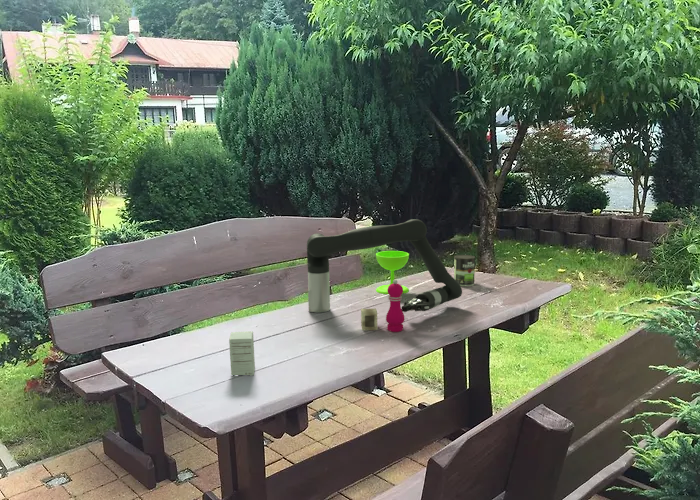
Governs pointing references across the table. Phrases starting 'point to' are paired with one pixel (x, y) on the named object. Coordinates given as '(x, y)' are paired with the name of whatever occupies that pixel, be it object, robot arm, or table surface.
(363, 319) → the pale yellow cube-like block
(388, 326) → the pepper mill
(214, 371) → the table surface
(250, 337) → the supplement box
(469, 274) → the coffee can
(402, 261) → the wineglass
